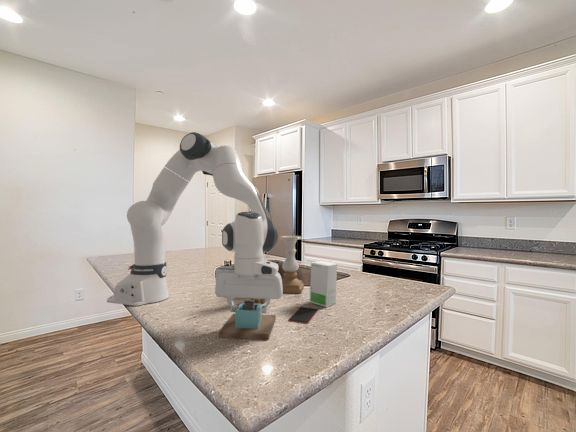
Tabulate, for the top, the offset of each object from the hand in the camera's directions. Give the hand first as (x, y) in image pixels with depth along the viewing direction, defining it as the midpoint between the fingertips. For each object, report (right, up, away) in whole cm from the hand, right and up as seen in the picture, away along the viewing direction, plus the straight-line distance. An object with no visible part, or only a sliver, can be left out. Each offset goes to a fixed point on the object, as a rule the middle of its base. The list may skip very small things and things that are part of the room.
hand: (249, 311), depth 84 cm
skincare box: (+25, -5, +23) cm, 34 cm away
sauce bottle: (0, -5, +24) cm, 25 cm away
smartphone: (+17, -5, +11) cm, 21 cm away
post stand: (0, -5, 0) cm, 5 cm away
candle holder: (+13, -4, +41) cm, 43 cm away
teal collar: (0, -3, -1) cm, 3 cm away
